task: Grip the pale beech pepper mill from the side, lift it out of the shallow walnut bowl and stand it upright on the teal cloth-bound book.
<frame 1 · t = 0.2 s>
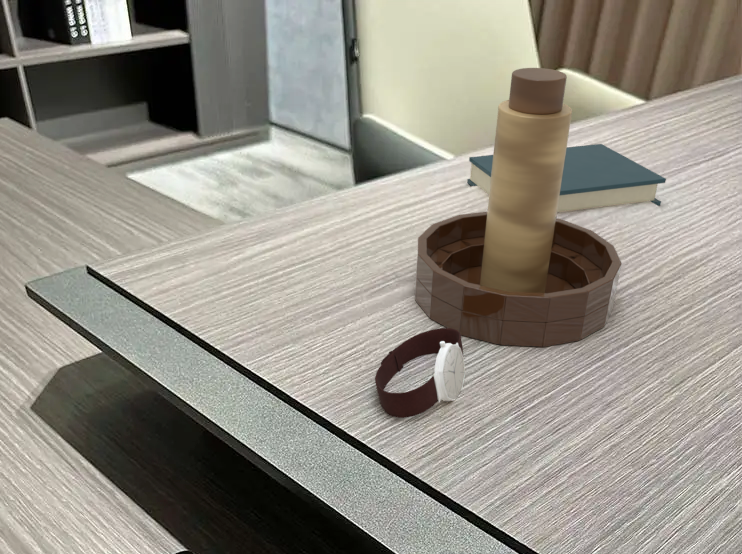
watch: (419, 393, 47), on the table
pepper mill: (511, 295, 56), resting on bowl
bowl: (510, 302, 56), on the table
book: (560, 193, 74), on the table
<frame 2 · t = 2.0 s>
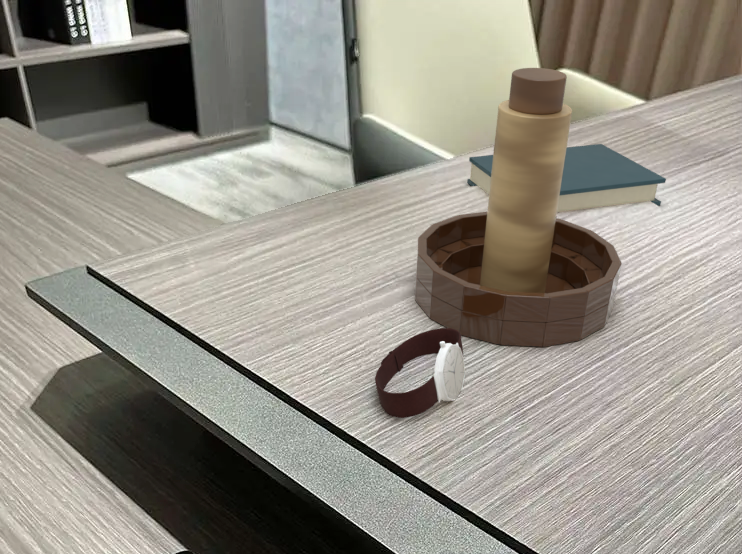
nothing on the table moved.
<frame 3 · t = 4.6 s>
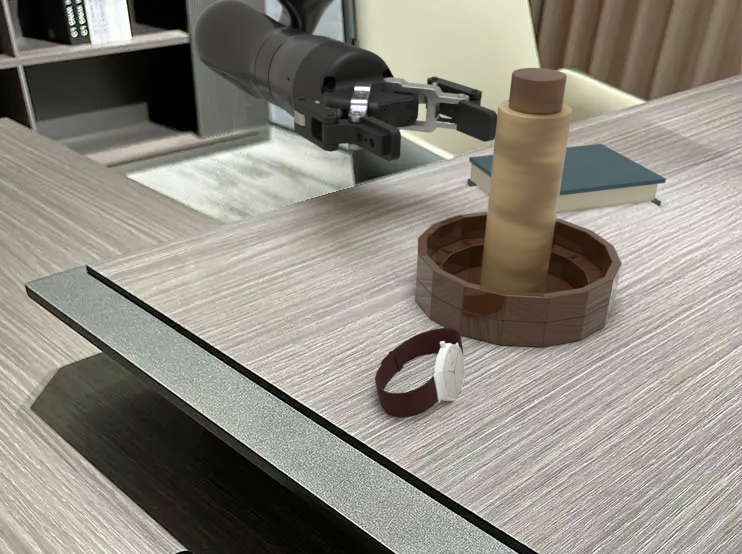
hand: (446, 136, 58), 9 cm above the table, tool horizontal, fingers open, 8 cm apart
nothing on the table moved.
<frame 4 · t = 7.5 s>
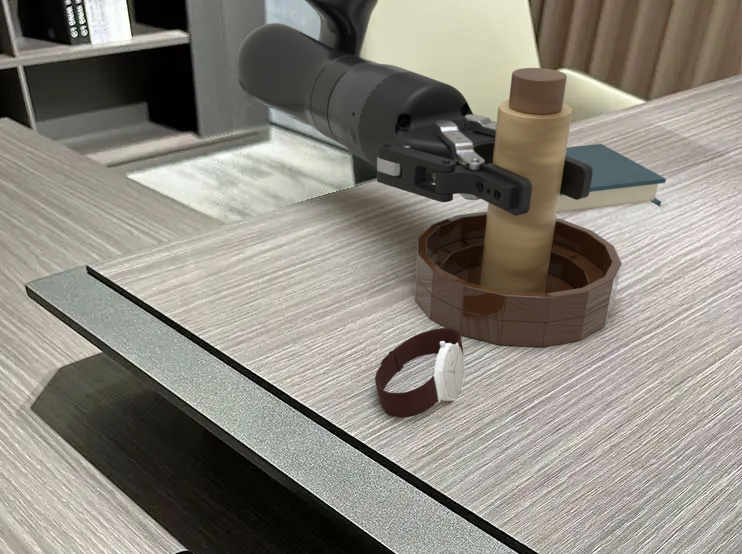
hand: (556, 191, 50), 9 cm above the table, tool horizontal, fingers closed on pepper mill, 4 cm apart
pepper mill: (511, 295, 56), point 1 cm above the table, touching bowl, gripper
everything else where it was.
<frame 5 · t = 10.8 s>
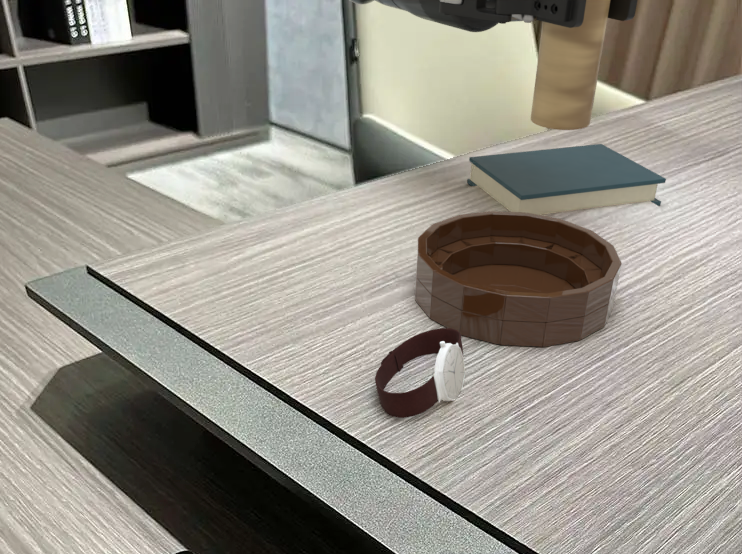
hand: (607, 7, 55), 18 cm above the table, tool horizontal, fingers closed on pepper mill, 4 cm apart
pepper mill: (560, 121, 62), point 9 cm above the table, touching gripper
everything else where it was.
when the fingers open (11 cm above the table, at t = 14.3 s): pepper mill stays where it is, resting on book.
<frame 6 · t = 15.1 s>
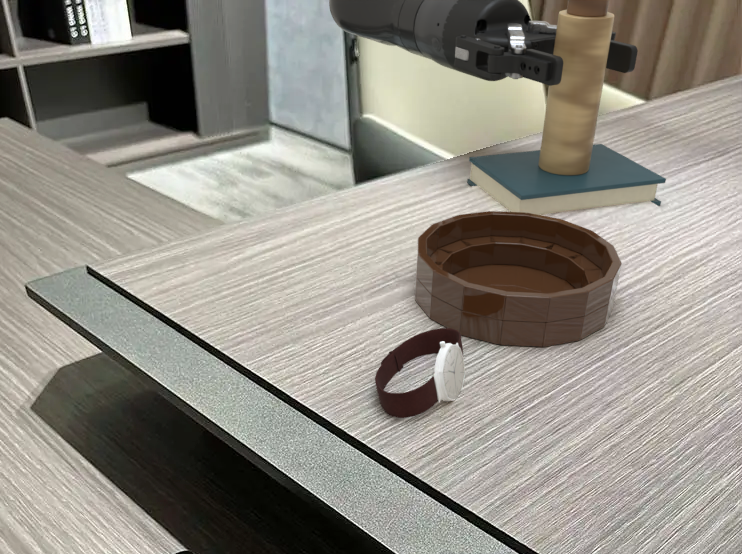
hand: (597, 66, 67), 12 cm above the table, tool horizontal, fingers open, 8 cm apart
pepper mill: (563, 167, 73), point 2 cm above the table, touching book
everything else where it was.
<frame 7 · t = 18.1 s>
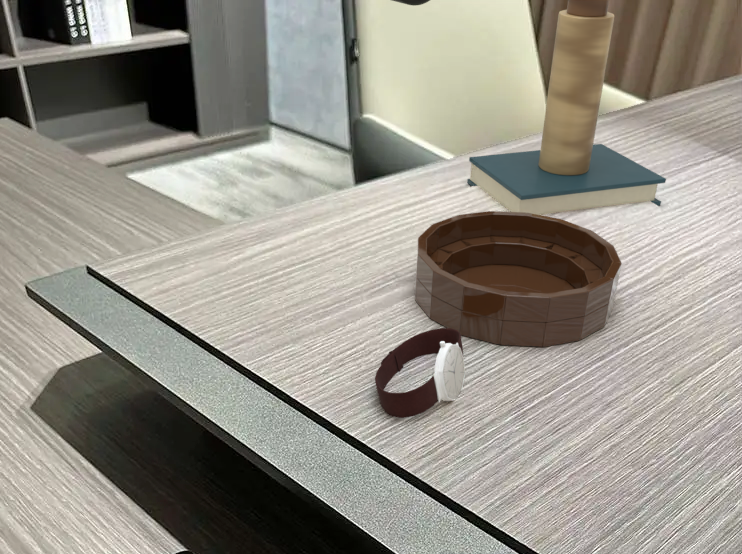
nothing on the table moved.
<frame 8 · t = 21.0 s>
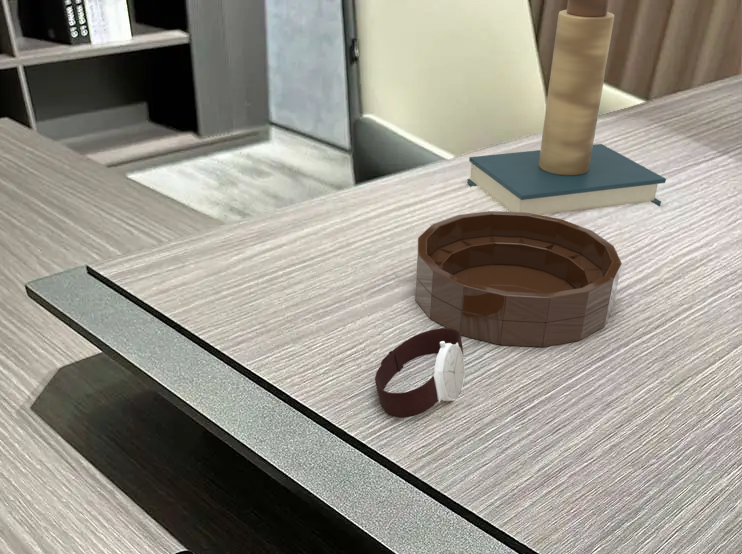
nothing on the table moved.
at the end: pepper mill inside the target area on the book (0.1 cm from its centre), point 2.5 cm above the book's base; pepper mill tilted 0°; the gripper is holding nothing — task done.
